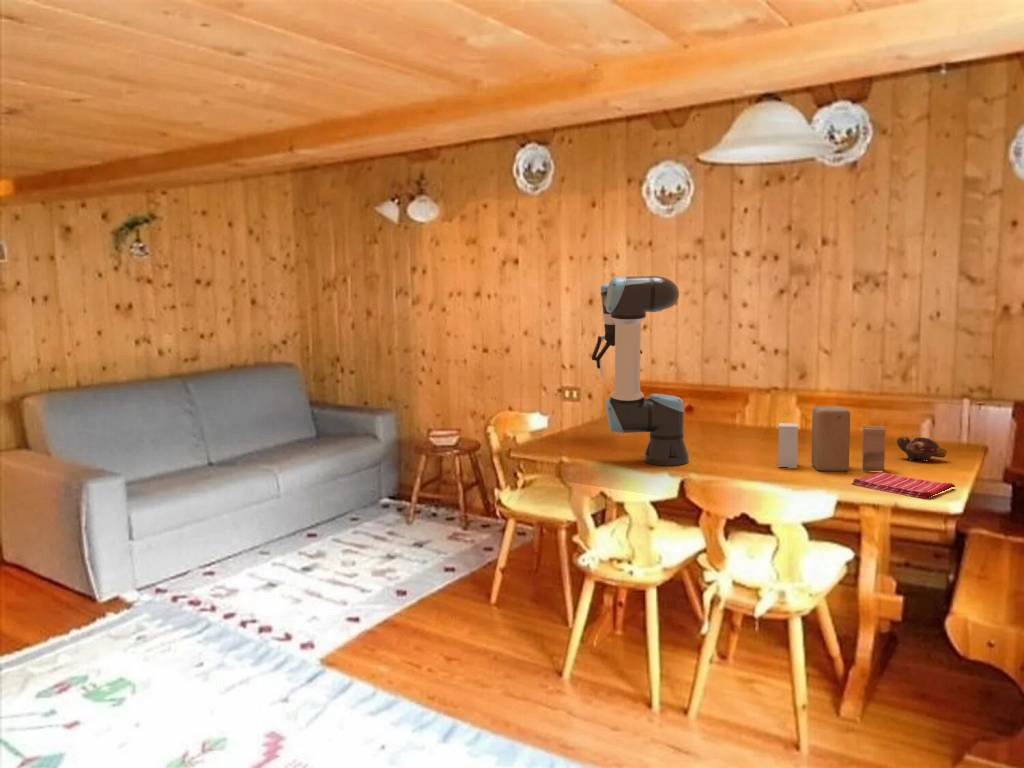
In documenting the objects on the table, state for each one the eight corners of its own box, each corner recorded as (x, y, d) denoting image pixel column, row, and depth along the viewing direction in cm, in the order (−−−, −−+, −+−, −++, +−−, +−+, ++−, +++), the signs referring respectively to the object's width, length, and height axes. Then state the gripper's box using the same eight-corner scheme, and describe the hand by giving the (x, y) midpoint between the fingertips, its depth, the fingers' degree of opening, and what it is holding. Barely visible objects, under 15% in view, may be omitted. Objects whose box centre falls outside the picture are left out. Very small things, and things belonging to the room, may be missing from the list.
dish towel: (928, 502, 227) (929, 492, 227) (850, 486, 246) (850, 477, 246) (957, 491, 237) (957, 482, 237) (879, 476, 256) (880, 468, 256)
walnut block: (883, 472, 259) (885, 429, 257) (863, 471, 261) (864, 429, 259) (882, 468, 264) (883, 426, 262) (862, 467, 266) (863, 425, 265)
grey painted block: (797, 468, 268) (798, 426, 266) (778, 467, 270) (778, 426, 268) (797, 464, 273) (798, 423, 271) (778, 463, 275) (779, 423, 273)
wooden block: (849, 471, 261) (851, 410, 259) (817, 471, 263) (818, 410, 260) (842, 464, 271) (843, 405, 268) (810, 464, 273) (811, 405, 270)
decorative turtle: (894, 455, 282) (896, 433, 281) (943, 461, 276) (946, 438, 275) (896, 460, 273) (898, 437, 272) (946, 466, 267) (949, 442, 266)
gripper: (643, 316, 324) (647, 367, 330) (581, 324, 325) (587, 375, 331) (646, 320, 317) (651, 372, 323) (583, 328, 318) (588, 380, 324)
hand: (618, 373), depth 327 cm, fingers open, 13 cm apart
